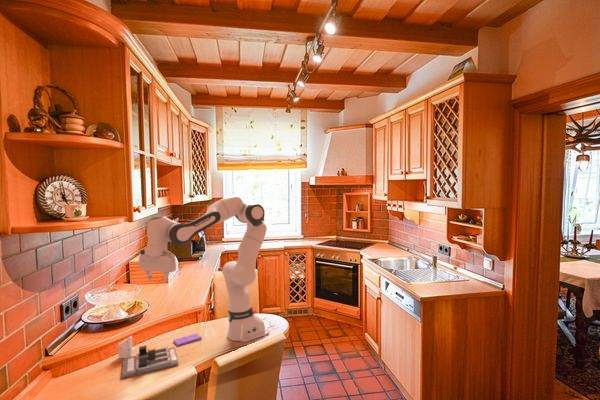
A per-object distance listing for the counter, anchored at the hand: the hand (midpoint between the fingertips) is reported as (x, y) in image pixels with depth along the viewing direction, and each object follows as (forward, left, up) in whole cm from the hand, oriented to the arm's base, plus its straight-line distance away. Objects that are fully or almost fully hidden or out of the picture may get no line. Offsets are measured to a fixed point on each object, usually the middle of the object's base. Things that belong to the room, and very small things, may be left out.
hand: (157, 280), depth 152 cm
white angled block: (+14, -8, -36) cm, 40 cm away
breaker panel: (+4, +5, -36) cm, 37 cm away
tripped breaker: (+4, +5, -35) cm, 35 cm away
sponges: (-14, -11, -37) cm, 41 cm away
